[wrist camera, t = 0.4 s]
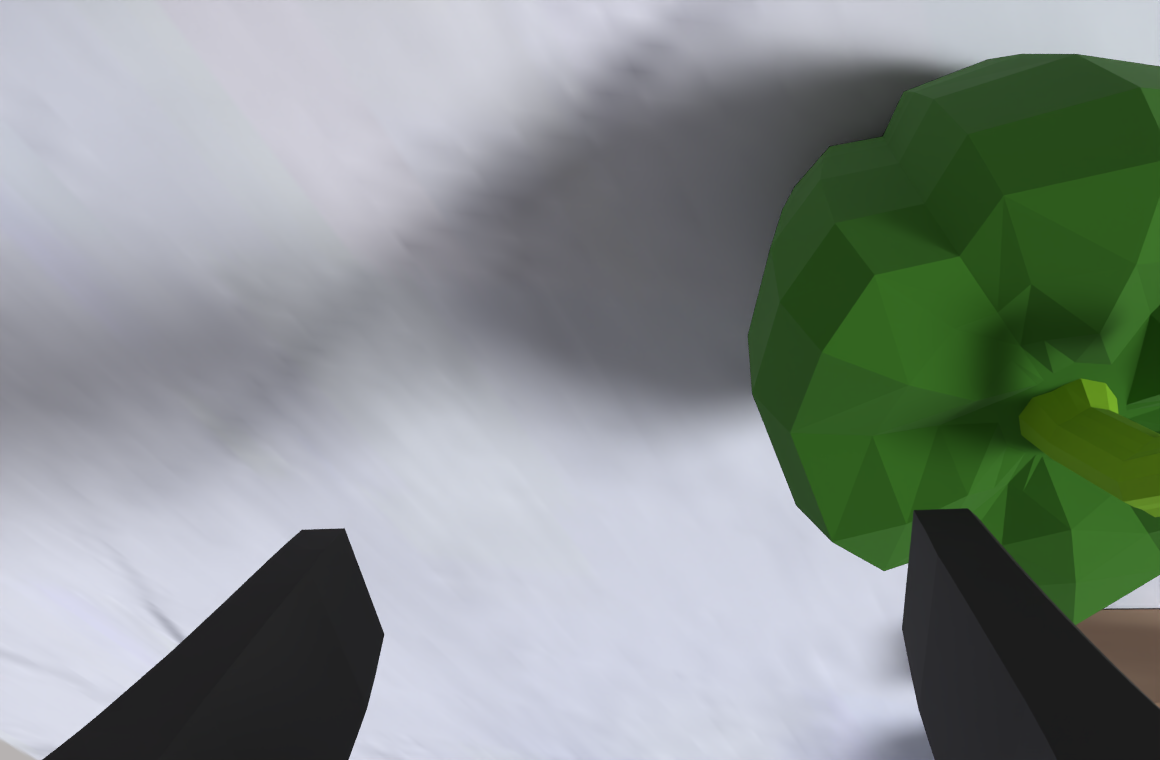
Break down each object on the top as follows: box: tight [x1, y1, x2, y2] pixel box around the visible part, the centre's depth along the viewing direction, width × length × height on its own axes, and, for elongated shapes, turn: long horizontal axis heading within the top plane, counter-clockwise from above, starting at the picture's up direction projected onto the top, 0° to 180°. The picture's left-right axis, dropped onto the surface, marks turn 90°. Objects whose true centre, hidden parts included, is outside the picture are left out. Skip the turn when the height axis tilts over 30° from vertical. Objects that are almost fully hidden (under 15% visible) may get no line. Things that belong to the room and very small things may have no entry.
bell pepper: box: [748, 54, 1160, 625], centre depth 14 cm, size 8×8×10 cm
